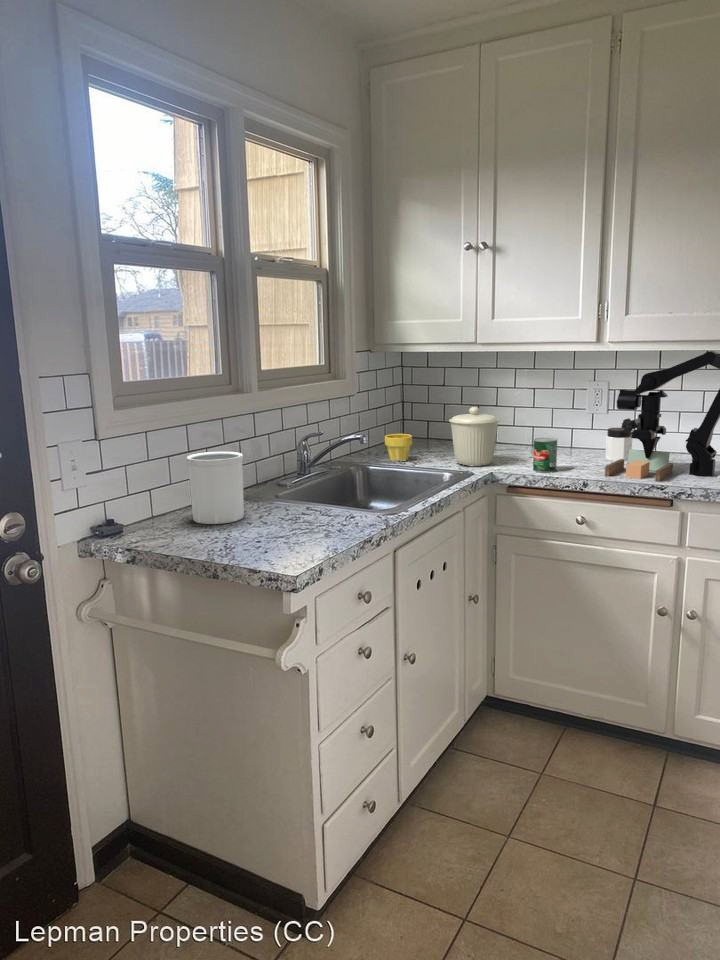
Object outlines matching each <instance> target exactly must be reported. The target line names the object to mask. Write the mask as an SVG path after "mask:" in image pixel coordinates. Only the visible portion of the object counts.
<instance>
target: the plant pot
mask: <svg viewBox="0 0 720 960" xmlns="http://www.w3.org/2000/svg"><path fill="white" fill-rule="evenodd" d="M384 445H385V446H386V447H387V448H386V449H387V452H388V457H389V460H390V459H391V460H407V459H409V455H410V454H409V453H410V449H411V446H412V445H413V435H411V434H408V433H393V434H392V433H391V434H387V435H385V436H384ZM407 461H408V460H407Z"/></svg>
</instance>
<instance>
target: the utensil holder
mask: <svg viewBox="0 0 720 960" xmlns="http://www.w3.org/2000/svg"><path fill="white" fill-rule="evenodd" d="M243 460H244V455H243V453H241V452H236V451H207V452H200V453H194V454H190V455H187V457H186V462H187V465H188V467H187V468H188V475H189V477H188V478H189V479H188V480H189V488H190V501H191V512H192V519H193V521H194V522H195V523H197V524H204V525H221V524H229V523H234V522H237V521H240V520H242V519H243V518H244V514H245V513H244V512H245V511H244V478H243V477H244V474H243V473H244V472H243Z"/></svg>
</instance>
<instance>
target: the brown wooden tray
mask: <svg viewBox="0 0 720 960" xmlns="http://www.w3.org/2000/svg"><path fill="white" fill-rule="evenodd" d="M604 467H605V468H604V470H605V471H604V477H605V478H606V477H607V478H609V477H612V476H613V475H615V474H617V473H619V472H621V471H622V470H624V469H625V461H624V459H619V460H617V461H616V460H614V462H610V464H607V465H605V466H604ZM673 472H674V463H673V462H668V464H667V465H665V466H663V467H661V468H660V469H658V470H656V471H655V477H654V478H655V479H654V481H655V482H658V483H659V482H661V481H663V480H664V479H666V478H667V477H669V476H671V475H673Z"/></svg>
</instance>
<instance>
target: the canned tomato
mask: <svg viewBox="0 0 720 960" xmlns="http://www.w3.org/2000/svg"><path fill="white" fill-rule="evenodd" d="M557 457H558V439H557V438H556V437H555V438H554V437H537V438H533V459H532V461H533V463H532V465H533V466H532V467H533V468H532V471H533V472H534V471H535V473H539V474H540V473H541V474H546V473H547V474H551V472H552V473H555V471H556V472H557V461H558V460H557V459H558V458H557Z"/></svg>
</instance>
